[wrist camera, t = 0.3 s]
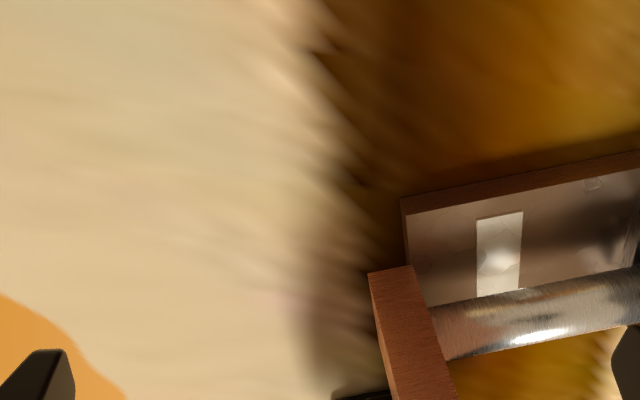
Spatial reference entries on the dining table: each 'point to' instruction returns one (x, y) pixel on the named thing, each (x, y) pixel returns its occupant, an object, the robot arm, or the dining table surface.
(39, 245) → the dining table surface
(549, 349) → the dining table surface
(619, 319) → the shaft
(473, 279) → the bearing housing
